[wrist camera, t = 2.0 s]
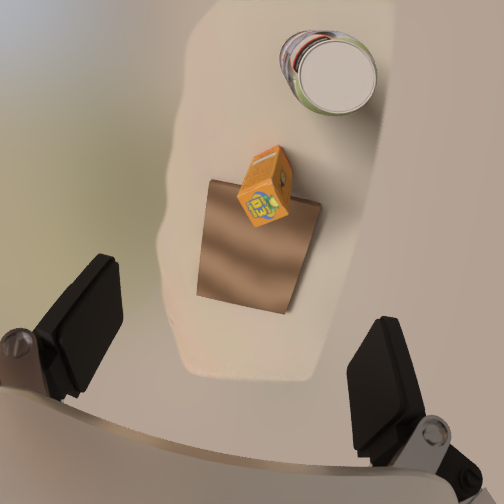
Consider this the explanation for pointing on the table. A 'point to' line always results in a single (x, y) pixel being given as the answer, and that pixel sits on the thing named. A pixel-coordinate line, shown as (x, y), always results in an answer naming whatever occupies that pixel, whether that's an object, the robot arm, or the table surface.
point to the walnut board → (252, 251)
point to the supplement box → (267, 187)
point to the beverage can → (328, 71)
